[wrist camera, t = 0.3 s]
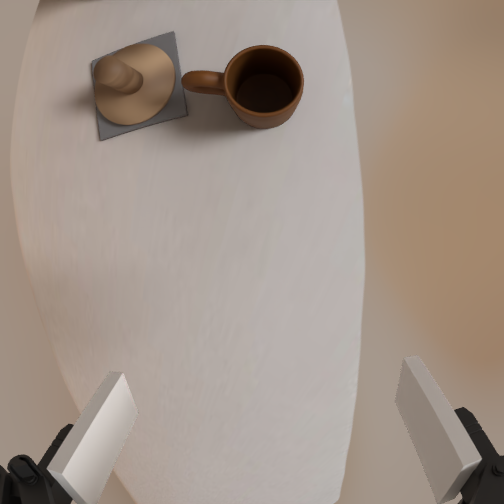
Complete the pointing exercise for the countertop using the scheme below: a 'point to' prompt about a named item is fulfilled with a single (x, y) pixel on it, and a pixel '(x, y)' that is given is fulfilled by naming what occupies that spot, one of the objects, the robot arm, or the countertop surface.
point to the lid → (134, 84)
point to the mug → (255, 85)
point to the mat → (172, 108)
